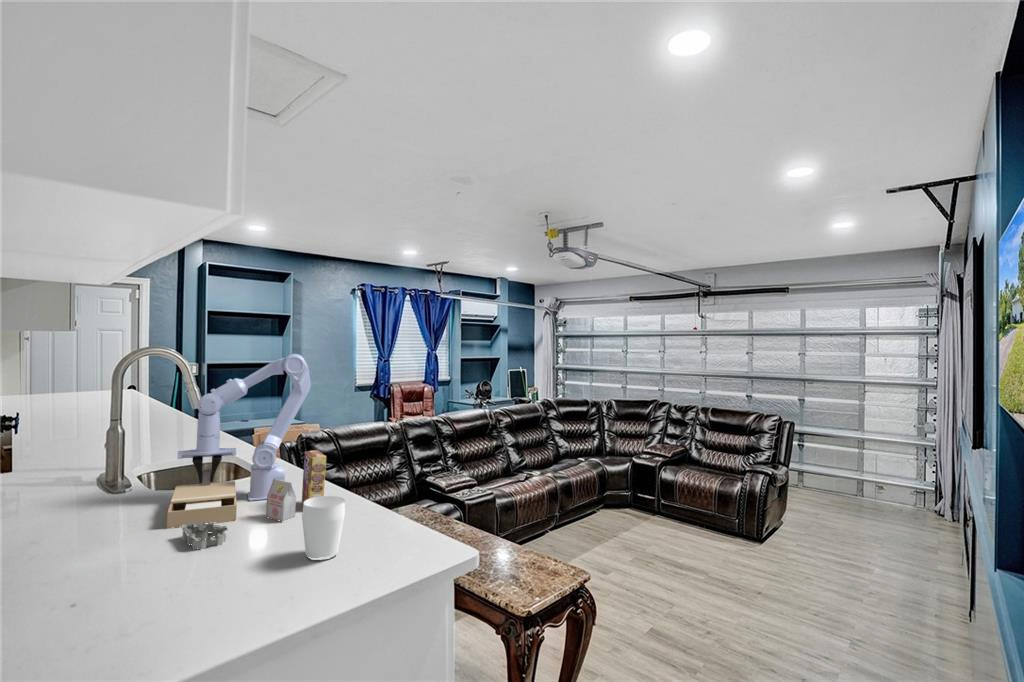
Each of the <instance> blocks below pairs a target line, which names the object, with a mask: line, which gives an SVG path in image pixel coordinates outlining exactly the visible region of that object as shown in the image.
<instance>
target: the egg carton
mask: <svg viewBox="0 0 1024 682" xmlns="http://www.w3.org/2000/svg"><path fill="white" fill-rule="evenodd" d="M181 528H182V536H181V537H182V540H183V542H185V541H184V540H187V541H186V545H187V544H188V545H189V544H190V545H189V546H191V549H192V548H193V549H197V548H198V549H204V550H206V549H207V548H208V547H207V546H209V547H211V546H210V545H217V547H219V546H218V545H220V546H223V544H224V543H223V542H225V543H226V539H227V533H226V531H228V527H227V526H226V525H223V526H222V525H219V524H215V523H213V522H209V523H208V524H205V523H204V522H202V523H196V524H191V525H184V524H182V527H181ZM208 532H212V533H211V536H208V534H209V533H208ZM212 536H215V537H212ZM205 539H206V540H205ZM222 543H223V544H222ZM191 544H192V545H191ZM188 545H187V546H188ZM206 547H207V548H206ZM205 548H206V549H205ZM193 549H192V550H193ZM198 549H197V550H198Z"/></svg>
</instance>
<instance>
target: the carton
mask: <svg viewBox="0 0 1024 682" xmlns="http://www.w3.org/2000/svg"><path fill="white" fill-rule="evenodd" d="M166 517H167V518H166V529H167V528H168V529H173V528H172V527H176V528H179V527H178V526H182V524H184V525H191V524H196V523H202V522H204V523H209V522H213V523H214V522H220V523H227V522H226V521H229V522H236V521H237V497H236V498H226V499H215V500H205V501H194V502H184V503H173V504H171V502H170V504H169V507H168V511H167V515H166ZM235 520H236V521H235ZM214 524H215V523H214Z"/></svg>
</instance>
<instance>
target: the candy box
mask: <svg viewBox="0 0 1024 682" xmlns="http://www.w3.org/2000/svg"><path fill="white" fill-rule="evenodd" d="M303 458H304V459H303V470H302V471H303V473H302V476H303V477H302V489H301V490H302V491H301V504H302V503H303V504H304V501H305V500H307V499H310V498H313V497H319V496H325V481H326V469H327V468H326V467H327V455H325V454H324V453H323V452H321V451H319V450H308V451H307V450H306V451H304V457H303ZM303 504H302V505H303Z"/></svg>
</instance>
